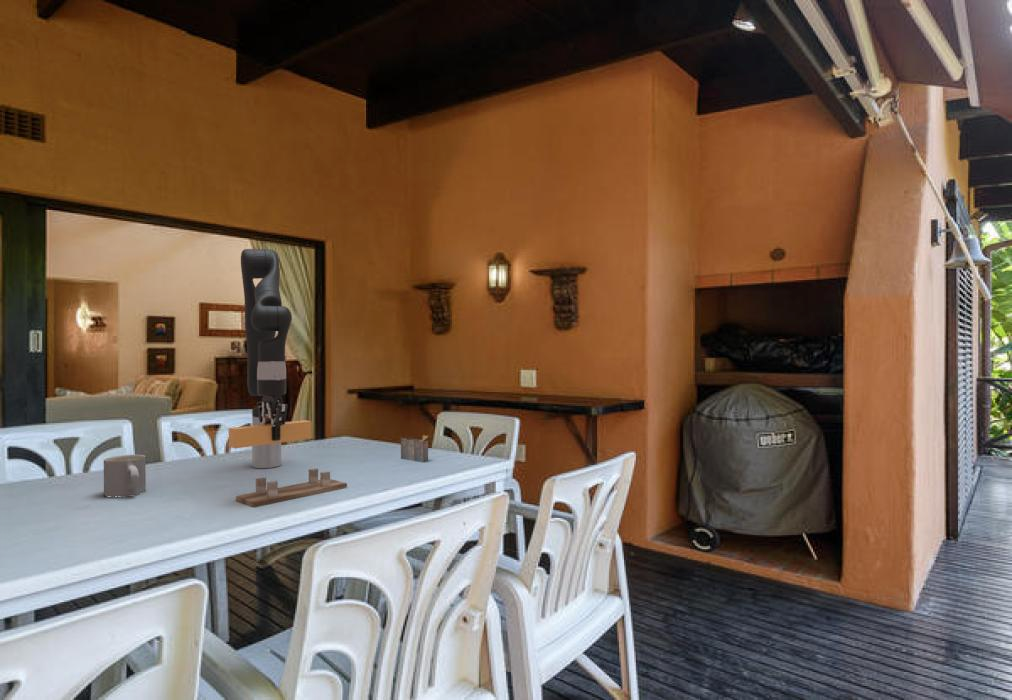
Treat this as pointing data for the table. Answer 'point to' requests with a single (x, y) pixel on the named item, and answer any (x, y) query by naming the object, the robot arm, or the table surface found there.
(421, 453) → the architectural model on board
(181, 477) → the table surface
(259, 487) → the brown wooden bar holder
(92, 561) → the table surface
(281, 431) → the orange wooden bar
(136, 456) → the coffee mug
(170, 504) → the table surface
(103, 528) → the table surface
